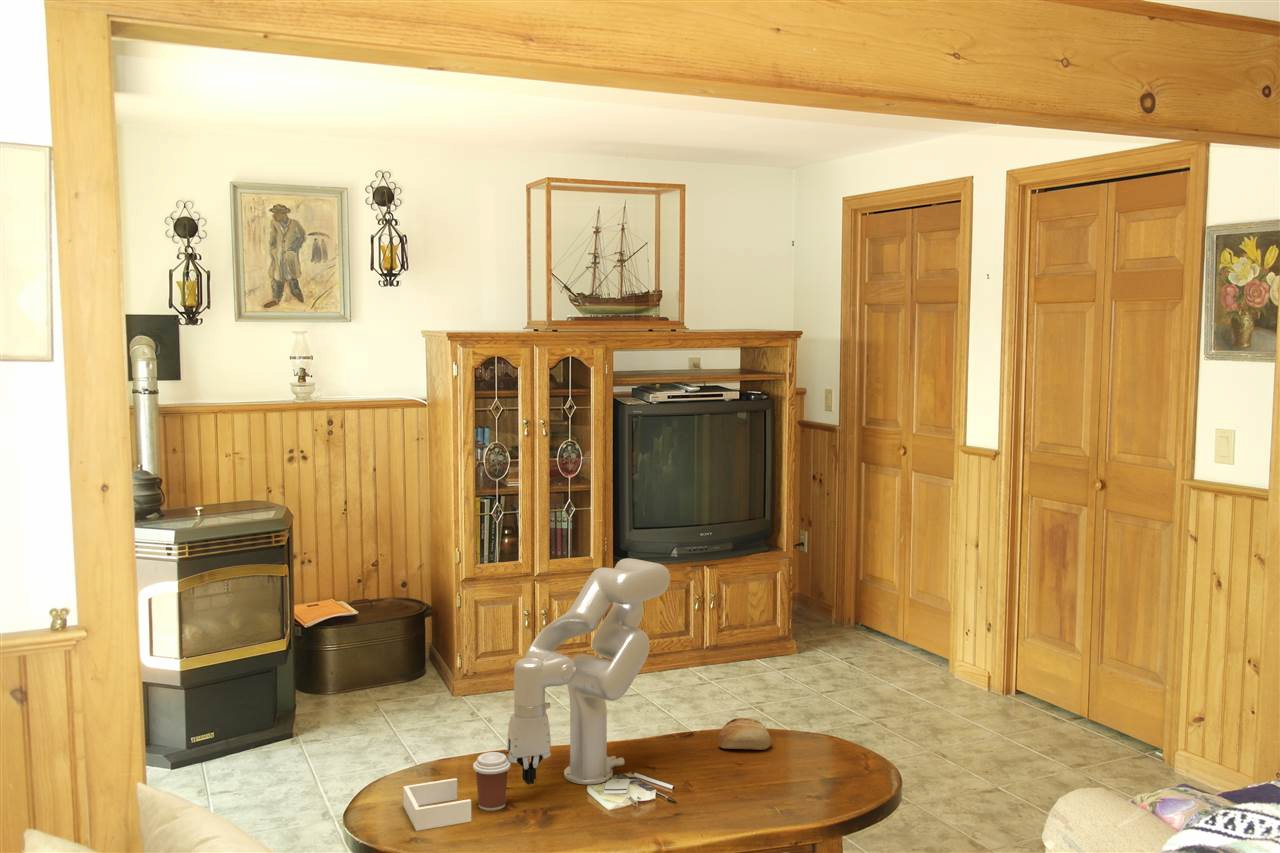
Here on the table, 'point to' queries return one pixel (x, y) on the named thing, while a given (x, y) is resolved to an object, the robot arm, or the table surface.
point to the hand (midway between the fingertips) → (529, 782)
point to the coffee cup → (491, 780)
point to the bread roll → (744, 735)
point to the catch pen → (435, 813)
